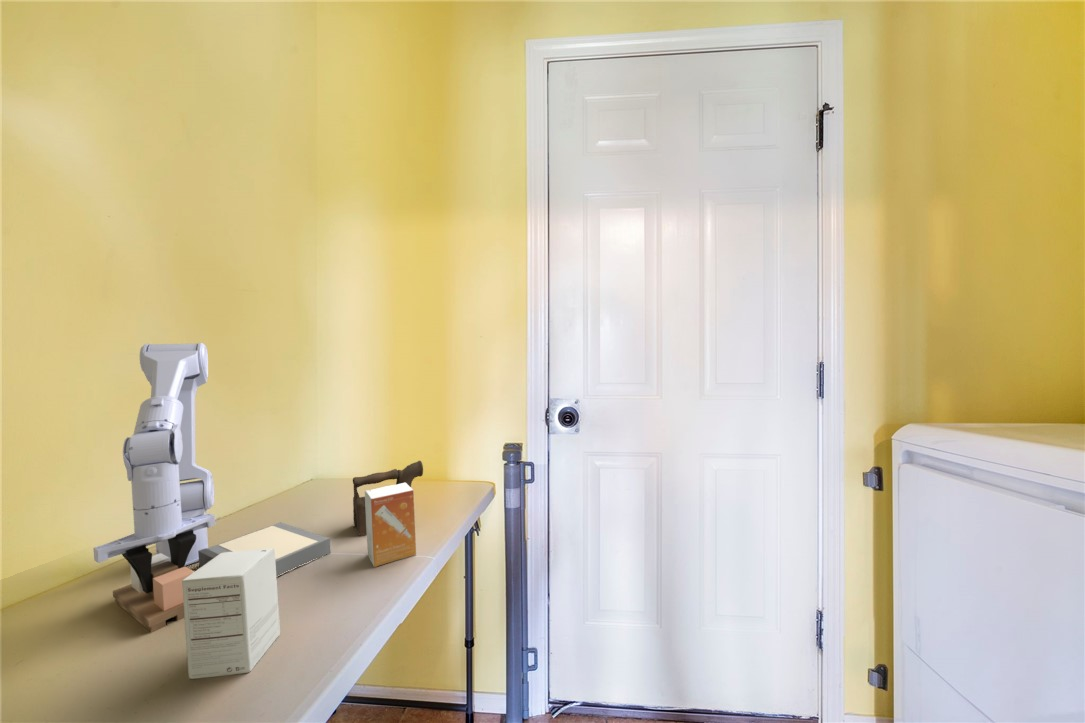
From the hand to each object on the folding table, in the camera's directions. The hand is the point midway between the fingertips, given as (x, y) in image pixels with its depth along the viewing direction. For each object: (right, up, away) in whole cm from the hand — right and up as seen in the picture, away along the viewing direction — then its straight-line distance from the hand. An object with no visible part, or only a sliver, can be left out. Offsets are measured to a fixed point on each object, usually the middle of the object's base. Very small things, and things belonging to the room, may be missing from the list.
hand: (162, 585), depth 67 cm
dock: (+8, -2, +13) cm, 16 cm away
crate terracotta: (+5, -1, -3) cm, 6 cm away
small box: (+33, -1, +13) cm, 36 cm away
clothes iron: (+26, -2, +29) cm, 39 cm away
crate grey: (-4, -1, +3) cm, 5 cm away
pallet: (0, -3, 0) cm, 3 cm away
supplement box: (+22, -2, -13) cm, 26 cm away
